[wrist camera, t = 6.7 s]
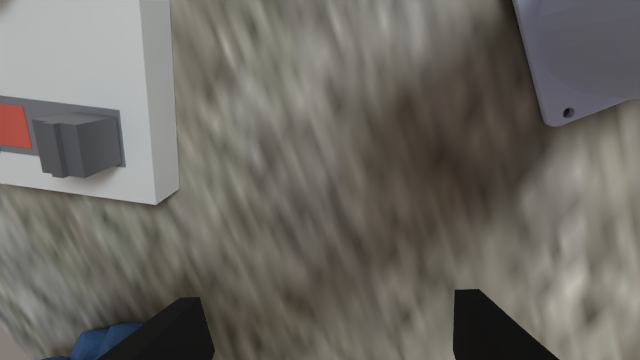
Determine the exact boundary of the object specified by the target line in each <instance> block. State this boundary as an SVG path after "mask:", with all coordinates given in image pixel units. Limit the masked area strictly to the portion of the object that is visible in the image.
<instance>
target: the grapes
mask: <svg viewBox="0 0 640 360" xmlns="http://www.w3.org/2000/svg"><path fill="white" fill-rule="evenodd" d="M142 325H143V324H142V323H137V322H132V323H124V324H118V325H114V326H111V327H110V328H109V329H99V330H92V331H88V332H83V333H82V334H81V335H80V337H79V339H78V340H77V342H76V344H75V346H74V347H73V349H72V351H71V355H70V357H64V356H59V357H52V358H46V359H41V360H97V359H98V358H99V357H101V356H102V355H104V354H105V353H106V352H108V351H109V350H110V349H112V348H113V347H114V346H116V345H117V344H118V343H120V342H121V341H122V340H124V339H125V338H126V337H128V336H129V335H130V334H132V333H133V332H134V331H136V330H137V329H138V328H139V327H141V326H142Z"/></svg>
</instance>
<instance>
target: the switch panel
mask: <svg viewBox="0 0 640 360" xmlns="http://www.w3.org/2000/svg"><path fill="white" fill-rule="evenodd" d="M74 112H82V113H90V114H98V115H106V116H114V117H116V121H117V129H118V138H119V146H120V155H121V164H118V165H116V166H113V167H111V168H108V169H106V170H104V171H101V172H99V173H96V174H94V175H91V176H89V177H87V178H79V177H71V176H68V177H65V178H57V177H52V174H49V173H43V172H42V167H41V162H40V157H39V153H38V148H37V143H36V138H35V133H34V129H33V124H32V119H37V118H43V117H49V116H56V115H62V114H68V113H74ZM0 183H2V184H10V185H17V186H24V187H31V188H38V189H45V190H52V191H60V192H67V193H74V194H81V195H88V196H95V197H103V198H110V199H117V200H124V201H131V202H138V203H145V204H153V205H157V204H158V203H160V202H161V201H162V200H164V199H165V198H167V197H168V196H170V195H171V194H173V193H174V192H175V191H177V190H178V189H179V171H178V152H177V133H176V115H175V96H174V77H173V59H172V40H171V21H170V2H169V0H0Z"/></svg>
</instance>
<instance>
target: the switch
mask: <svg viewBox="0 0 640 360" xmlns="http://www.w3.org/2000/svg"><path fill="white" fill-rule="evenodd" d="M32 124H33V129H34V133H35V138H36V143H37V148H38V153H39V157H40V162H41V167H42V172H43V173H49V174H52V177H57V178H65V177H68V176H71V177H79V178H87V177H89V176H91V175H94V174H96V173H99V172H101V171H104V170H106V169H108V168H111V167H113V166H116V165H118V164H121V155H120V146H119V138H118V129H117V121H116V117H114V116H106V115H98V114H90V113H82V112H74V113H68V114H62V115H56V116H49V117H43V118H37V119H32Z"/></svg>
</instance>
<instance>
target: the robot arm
mask: <svg viewBox="0 0 640 360" xmlns="http://www.w3.org/2000/svg"><path fill="white" fill-rule="evenodd" d="M512 1H513V5H514V9H515V13H516V17H517V21H518V25H519V28H520V32H521V36H522V40H523V44H524V48H525V52H526V56H527V59H528V63H529V67H530V71H531V75H532V79H533V83H534V87H535V90H536V94H537V98H538V102H539V106H540V110H541V114H542V118H543V121H544V123H545V124H546V125H548V126H551V127H558V126H562V125H564V124H567V123H569V122H572V121H575V120H577V119H580V118H583V117H585V116H588V115H590V114H593V113H596V112H598V111H601V110H604V109H606V108H609V107H611V106H614V105H617V104H619V103H622V102H625V101H627V100H630V99H633V100H640V0H512ZM567 108H569V114H568V115H567V116H565V117H564V116H563V112H564V110H565V109H567ZM214 352H215V350H214V346H213V343H212V339H211V336H210V332H209V329H208V325H207V321H206V318H205V314H204V311H203V307H202V304H201V300H200V297H188V298H179V299H178V300H176V301H175V302H173V303H172V304H170V305H169V306H168V307H166V308H165V309H163V310H162V311H161V312H159V313H158V314H157V315H155V316H154V317H153V318H151V319H150V320H149V321H147V322H146V323H145V324H143V325H142V326H141V327H139V328H138V329H137V330H136V331H134V332H133V333H132V334H130V335H129V336H128V337H126V338H125V339H124V340H122V341H121V342H120V343H118V344H117V345H116V346H114V347H113V348H112V349H110V350H109V351H108V352H106V353H105V354H104V355H102V356H101V357H99V358H98V359H97V360H212V358H213V355H214ZM453 352H454V355H455V359H456V360H559V359H558V358H557V357H556V356H554V355H553V354H552V353H551V352H550V351H548V350H547V349H546V348H545V347H544V346H543V345H541V344H540V343H539V342H538V341H537V340H535V339H534V338H533V337H532V336H531V335H530V334H529V333H527V332H526V331H525V330H524V329H523V328H522V327H521V326H519V325H518V324H517V323H516V322H515V321H514V320H513V319H512V318H511V317H509V316H508V315H507V314H506V313H505V312H504V311H503V310H502V309H501V308H499V307H498V306H497V305H496V304H495V303H494V302H493V301H492V300H491V299H489V298H488V297H487V296H486V295H485V294H484V293H483V292H482V291H481V290H479V289H466V290H455V299H454V331H453Z"/></svg>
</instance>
